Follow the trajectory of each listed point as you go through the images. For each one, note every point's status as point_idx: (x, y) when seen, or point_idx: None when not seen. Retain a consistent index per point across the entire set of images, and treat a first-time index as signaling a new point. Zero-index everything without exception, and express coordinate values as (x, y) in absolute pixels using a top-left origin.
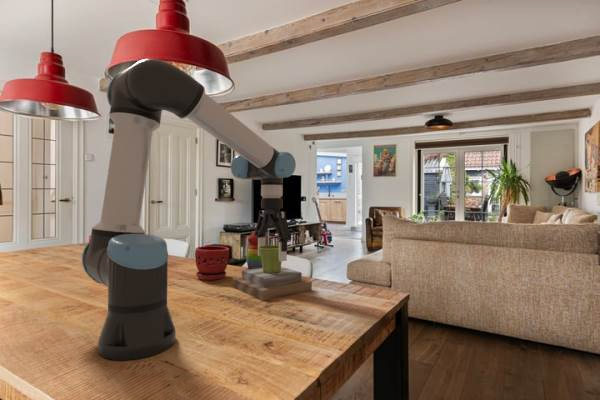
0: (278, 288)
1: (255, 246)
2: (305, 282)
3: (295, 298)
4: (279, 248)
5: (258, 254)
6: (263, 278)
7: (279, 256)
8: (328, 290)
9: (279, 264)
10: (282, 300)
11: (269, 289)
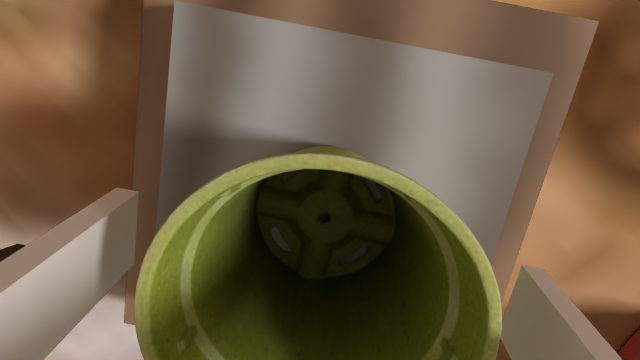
0: (140, 78)
1: None
2: (132, 286)
3: (82, 124)
4: (40, 244)
5: (538, 273)
6: (190, 4)
7: (97, 205)
8: (90, 345)
9: (237, 251)
10: (96, 43)
11: (144, 4)
